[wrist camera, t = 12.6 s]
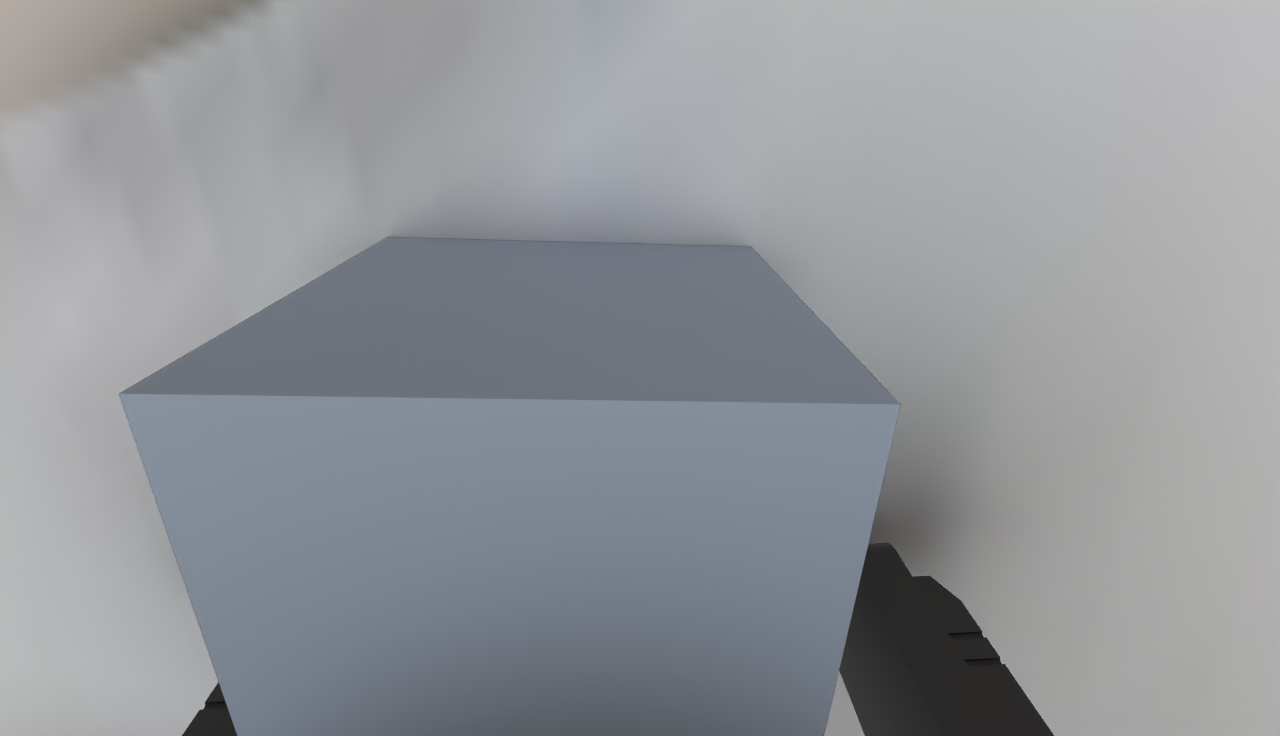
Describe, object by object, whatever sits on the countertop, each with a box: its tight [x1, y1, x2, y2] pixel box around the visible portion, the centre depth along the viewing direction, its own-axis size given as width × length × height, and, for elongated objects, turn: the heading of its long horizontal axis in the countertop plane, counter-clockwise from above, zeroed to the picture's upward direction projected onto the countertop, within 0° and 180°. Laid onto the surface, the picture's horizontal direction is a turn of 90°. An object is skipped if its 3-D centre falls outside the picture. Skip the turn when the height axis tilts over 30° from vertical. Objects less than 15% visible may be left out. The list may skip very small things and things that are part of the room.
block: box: [119, 237, 901, 736], centre depth 8 cm, size 8×5×5 cm, turn 178°
